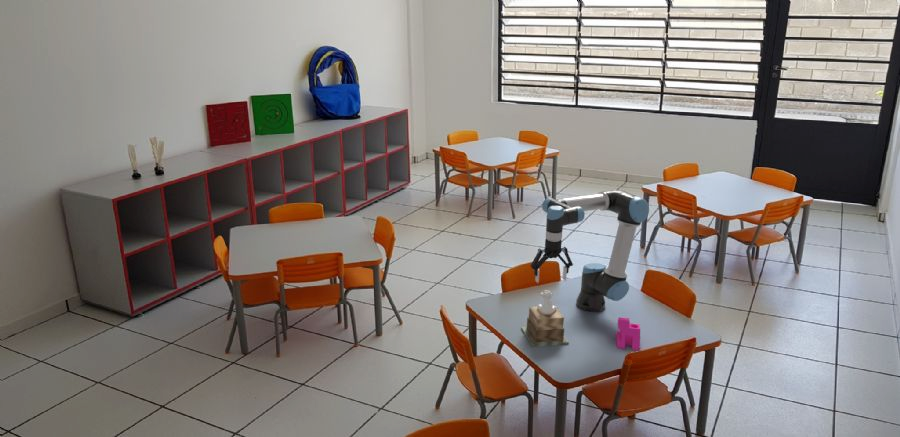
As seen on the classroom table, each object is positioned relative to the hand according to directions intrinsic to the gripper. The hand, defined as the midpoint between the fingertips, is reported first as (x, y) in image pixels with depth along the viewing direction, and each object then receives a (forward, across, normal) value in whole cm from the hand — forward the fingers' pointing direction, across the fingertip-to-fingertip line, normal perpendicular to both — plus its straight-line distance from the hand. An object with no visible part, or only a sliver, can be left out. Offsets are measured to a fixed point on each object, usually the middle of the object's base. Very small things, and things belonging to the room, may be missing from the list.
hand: (550, 280), depth 338 cm
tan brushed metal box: (+29, +2, +1) cm, 29 cm away
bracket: (+30, -36, +14) cm, 49 cm away
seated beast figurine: (+16, +2, +2) cm, 16 cm away
